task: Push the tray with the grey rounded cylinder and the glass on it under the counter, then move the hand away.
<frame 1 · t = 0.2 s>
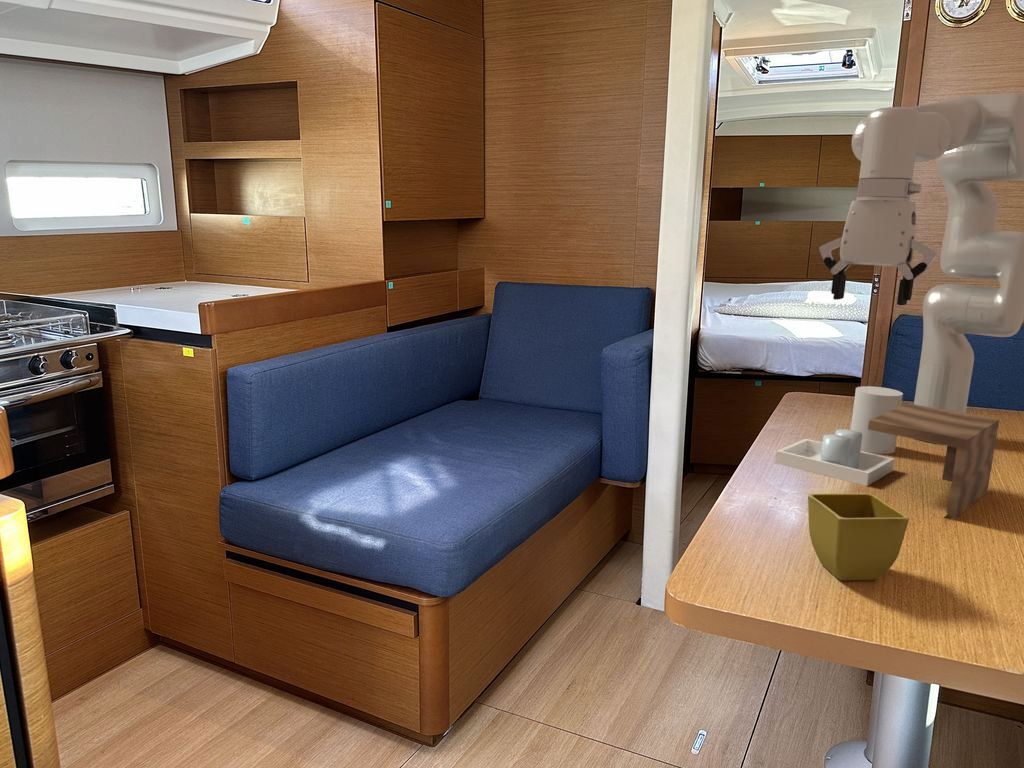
hand: (869, 301, 123), 31 cm above the table, fingers open, 9 cm apart
cup: (870, 452, 149), on the table
flower pot: (847, 573, 96), on the table
grey rounded cylinder a: (844, 465, 137), point 1 cm above the table, touching tray
glass b: (832, 471, 133), point 1 cm above the table, touching tray
counter: (923, 493, 126), on the table
tray: (832, 470, 136), on the table, touching grey rounded cylinder a, glass b
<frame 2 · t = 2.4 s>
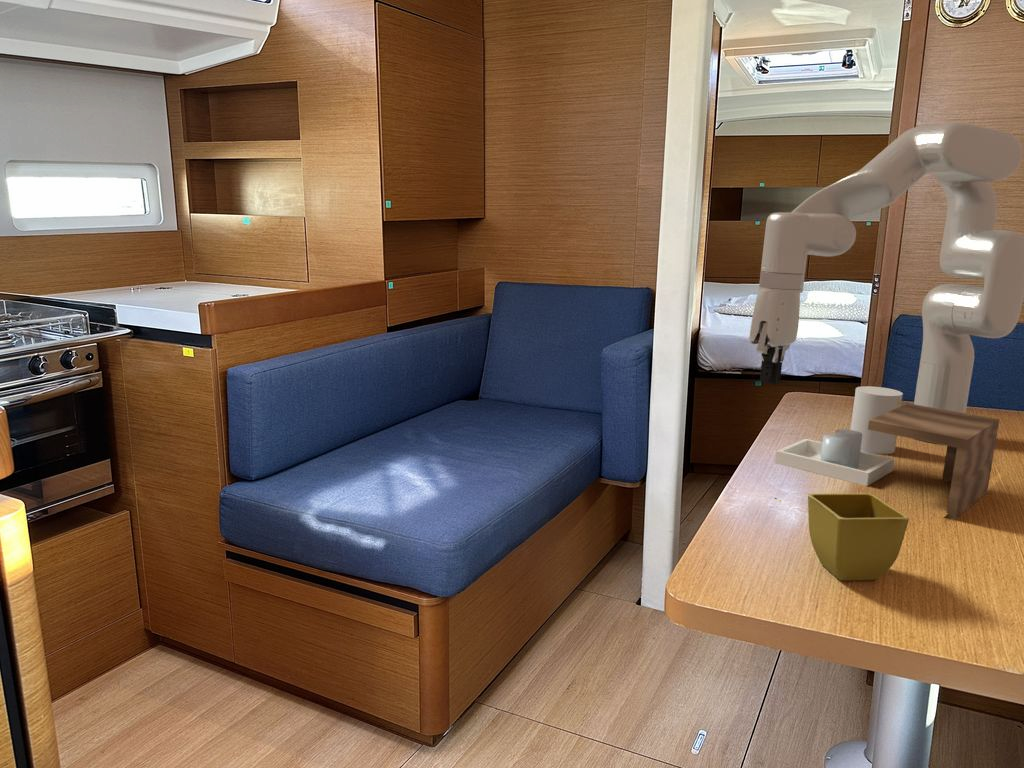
hand: (769, 382, 142), 14 cm above the table, fingers closed
nothing on the table moved.
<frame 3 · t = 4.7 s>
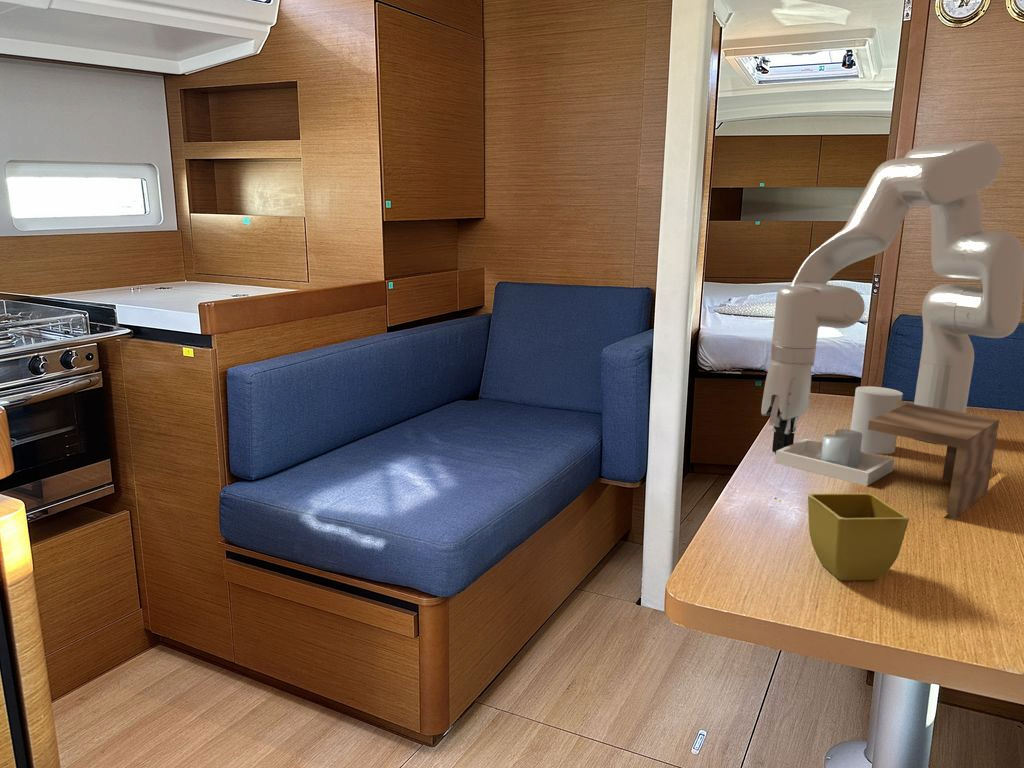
hand: (782, 452, 142), 1 cm above the table, fingers closed
tray: (832, 470, 136), on the table, touching grey rounded cylinder a, glass b, gripper
everything else where it was.
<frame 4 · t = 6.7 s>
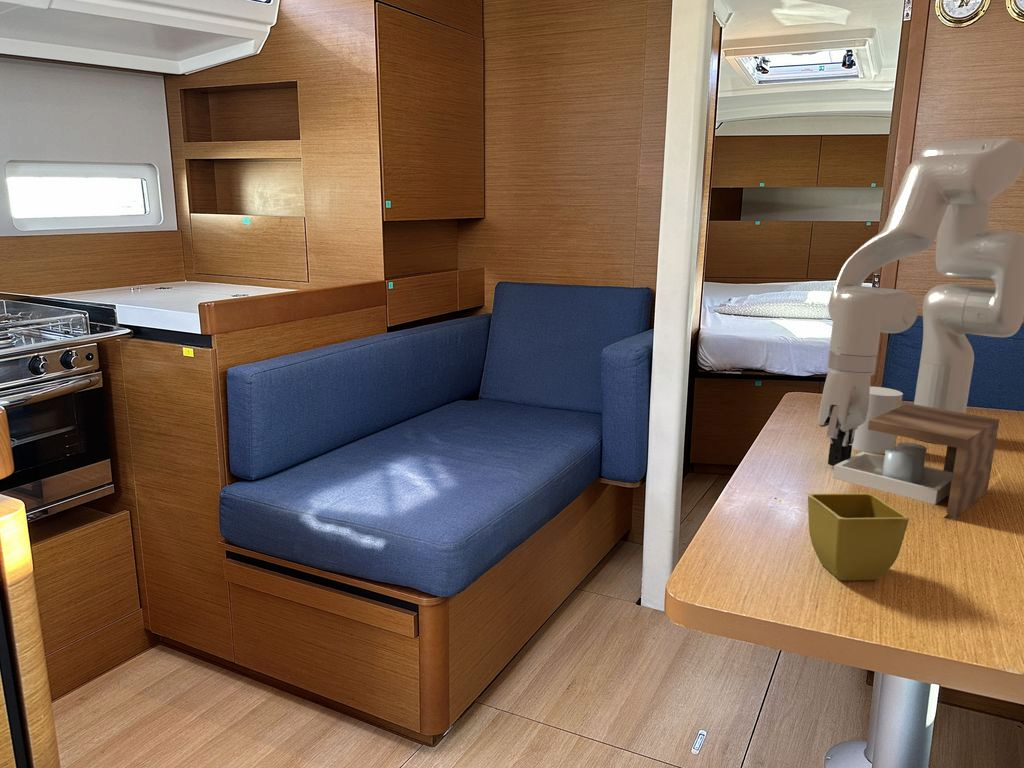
hand: (838, 465, 135), 1 cm above the table, fingers closed
grey rounded cylinder a: (907, 480, 129), point 1 cm above the table, touching tray
glass b: (895, 487, 126), point 1 cm above the table, touching tray
tray: (894, 486, 128), on the table, touching grey rounded cylinder a, glass b, gripper
everything else where it was.
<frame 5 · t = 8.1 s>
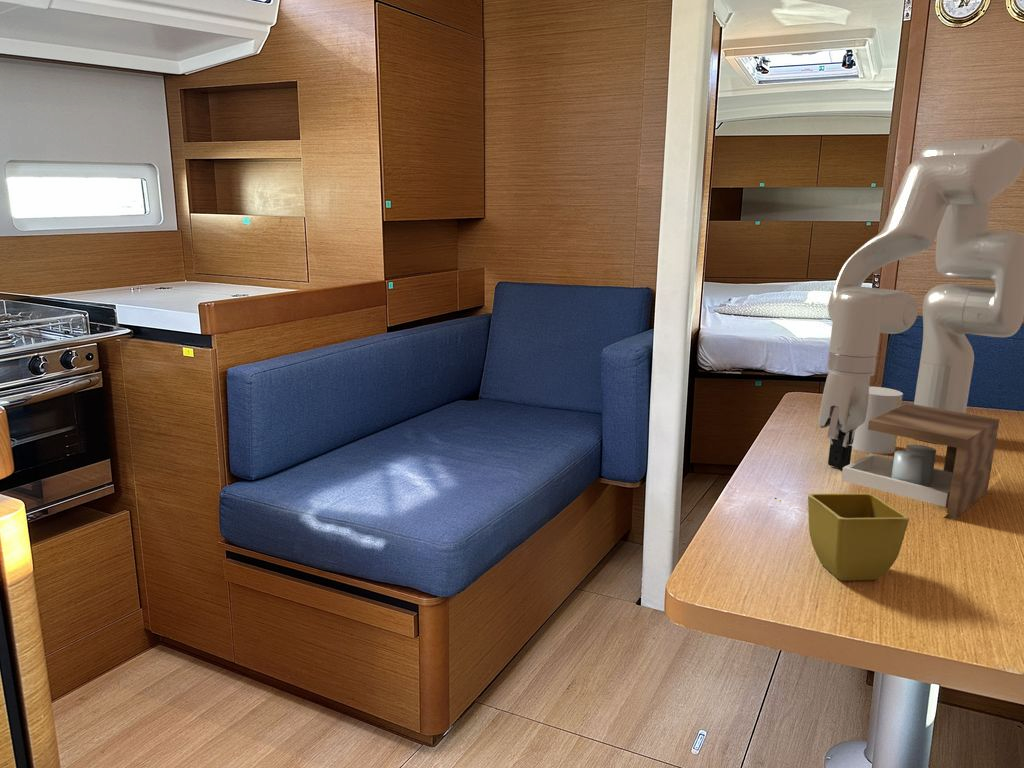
hand: (838, 466, 135), 1 cm above the table, fingers closed
grey rounded cylinder a: (916, 482, 128), point 1 cm above the table, touching tray
glass b: (904, 489, 125), point 1 cm above the table, touching tray
tray: (903, 489, 128), on the table, touching grey rounded cylinder a, glass b
everything else where it was.
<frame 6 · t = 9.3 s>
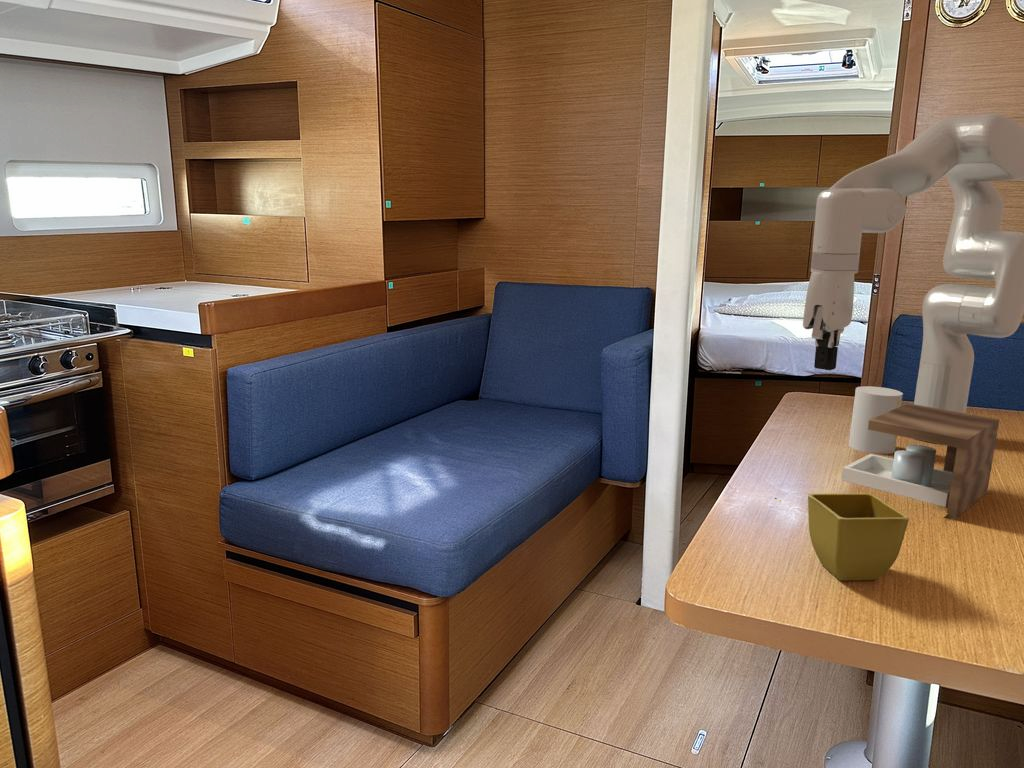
hand: (824, 368, 135), 18 cm above the table, fingers closed
nothing on the table moved.
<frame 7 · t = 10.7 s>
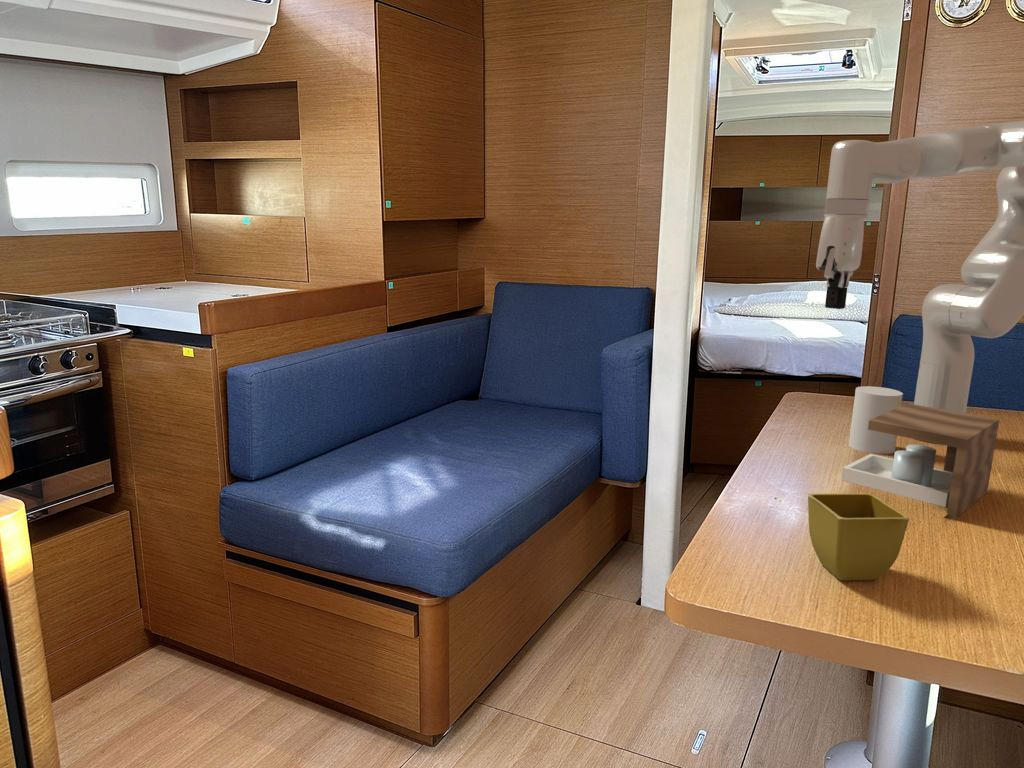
hand: (834, 307, 147), 27 cm above the table, fingers closed
nothing on the table moved.
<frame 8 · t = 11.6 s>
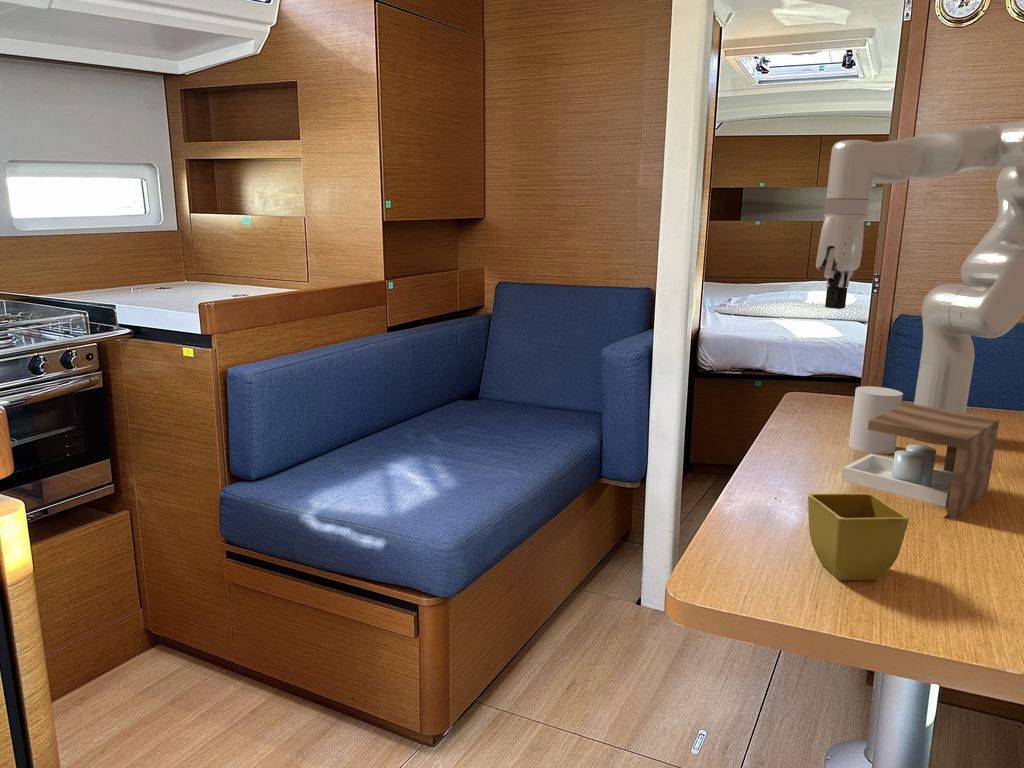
hand: (834, 307, 147), 27 cm above the table, fingers closed
nothing on the table moved.
at the end: tray inside the target area on the counter (1.0 cm from its centre), point 0.0 cm above the counter's base; grey rounded cylinder a 2.8 cm from the tray (horizontally); glass b 2.8 cm from the tray (horizontally) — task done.
